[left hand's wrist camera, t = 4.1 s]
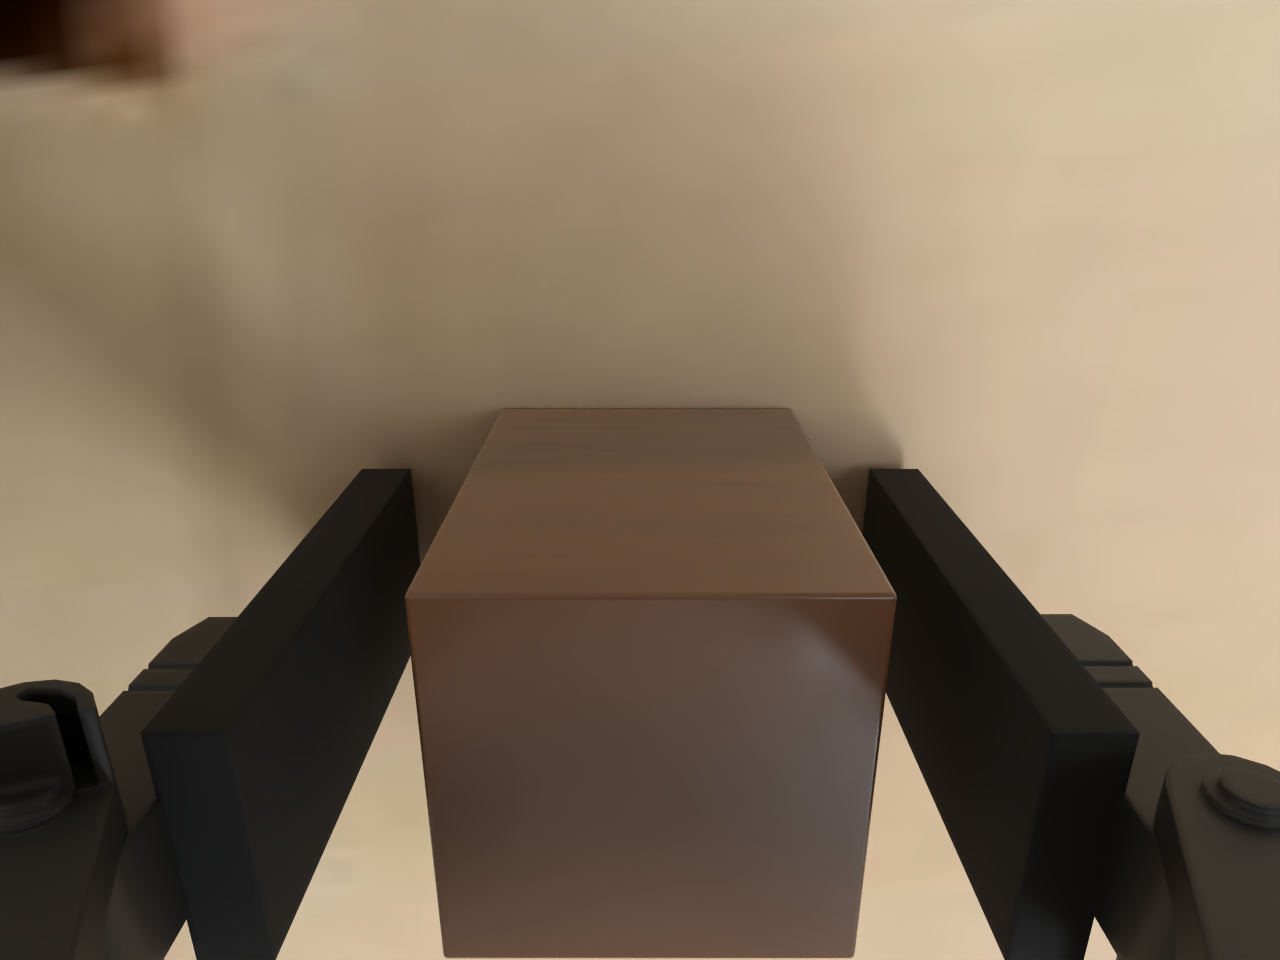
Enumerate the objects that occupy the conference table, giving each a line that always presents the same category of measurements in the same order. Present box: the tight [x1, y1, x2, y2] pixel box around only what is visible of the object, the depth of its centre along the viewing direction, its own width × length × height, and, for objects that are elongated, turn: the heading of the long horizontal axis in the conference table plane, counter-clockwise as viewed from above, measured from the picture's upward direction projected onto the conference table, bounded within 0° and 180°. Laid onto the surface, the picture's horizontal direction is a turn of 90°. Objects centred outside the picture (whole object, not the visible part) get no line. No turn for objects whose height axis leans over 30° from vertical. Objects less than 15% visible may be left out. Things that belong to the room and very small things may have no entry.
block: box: [405, 409, 897, 958], centre depth 12 cm, size 4×4×6 cm
